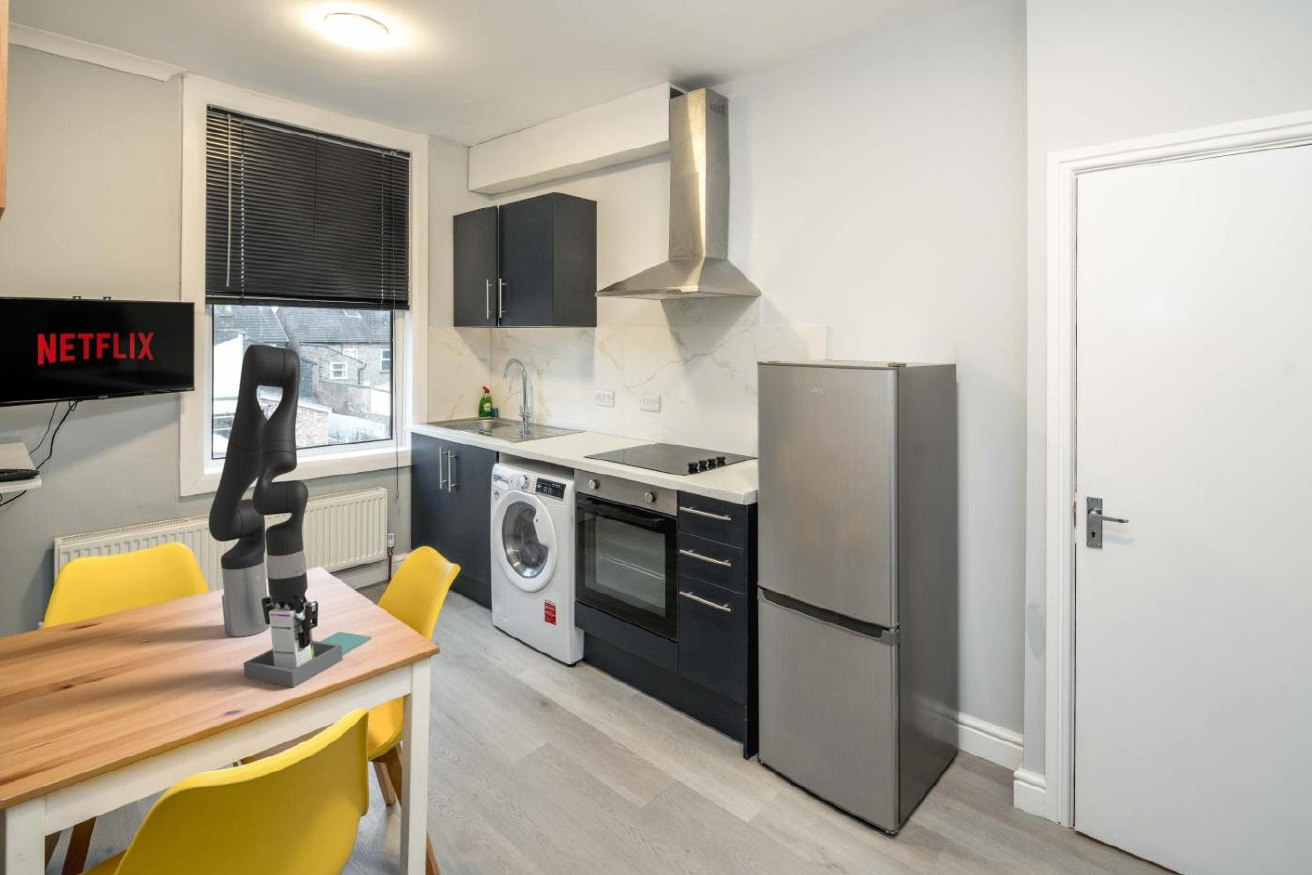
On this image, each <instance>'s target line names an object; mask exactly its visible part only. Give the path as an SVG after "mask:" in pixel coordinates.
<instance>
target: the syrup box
mask: <svg viewBox="0 0 1312 875" xmlns="http://www.w3.org/2000/svg"><path fill="white" fill-rule="evenodd" d="M295 614H296V616H297V618H300V617H302V616H303V615H304V611H303V612H302V613H299V614H297V613H296V611H295V610H292V611H289V610H285V608H280V609H274V610H271V611H269V617H270V626H269V628H270V634H271V645H272V649H273V655H274V664H275V665H274V666H275V667H280V668H286V669H291V670H293V669H295V668H296V667H298V666H300V665H302V664H304V663H306V662H308V661H310V660H311V659H313V658H315V657H314V648H313V641H314V639H313V631H312V630H313V628H312V629H310V640H311V642H310V644H309V646H307V647H305V648H300V647H299V637H298V632H299V631H298V628H297V624H296V623H295V621H294V615H295ZM301 623H302V625H303V626H304V625H305V624H304V622H303V620H301Z"/></svg>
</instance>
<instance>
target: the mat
mask: <svg viewBox="0 0 1312 875" xmlns="http://www.w3.org/2000/svg"><path fill="white" fill-rule="evenodd" d="M371 640H372V636H368V635H363V634H362V635H361V634H355V633H350V632H345V631H344V632H343V631H338V632H335V633H333V634H332V635H330V636H328V637H326V638H323V639H322V640H320V641H319V642H325V643H331V644H337V645H342V656H344V655H346V654H347V653H350V652H351V651H353V650H354V649H356V648H358V647H360V646H362V645H363V644H366V643H367V642H369V641H371Z"/></svg>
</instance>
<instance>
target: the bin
mask: <svg viewBox="0 0 1312 875" xmlns="http://www.w3.org/2000/svg"><path fill="white" fill-rule="evenodd" d="M313 648H314V658H313V659H311V660H310V661H308V662H306V663H304V664H302V665H300V666H298V667H296V668H295V669H293V670H291V669H286V668H280V667H275V664H274V655H273V648H271V649H269V650H267V651H265V652H263V653H261V654H259V655H257V656H254V657H253V658H251V659H249V660H247V661H245V662H243V674H244V679H246V680H251V681H257V682H263V683H267V684H273V685H277V686H283V687H287V688H288V687H289V688H295V687H297V686H299V685H300V684H303V683H304V682H306V681H309V679H311V678H314V677H315V676H317V675H318V674H320V673H322V672H324V671H326V670H328V669H329V668H331V667H333V666H335V665H336V664H338V663H339V662H341V661H343V655H342V645H337V644H331V643H325V642H320V641H318V640H313Z"/></svg>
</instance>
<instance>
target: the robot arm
mask: <svg viewBox="0 0 1312 875" xmlns="http://www.w3.org/2000/svg"><path fill="white" fill-rule="evenodd" d="M241 364H242V365H241V370H240V378H239V380H240V381H239V385H238V386H239V387H238V394H237V401H236V402H237V403H236V406H235V407H236V408H235V412H234V416H233V421H232V423H231V424H232V425H231V428H230V432H229V435H228V436H229V438H228V442H227V446H226V447H227V448H226V450H225V457H224V458H225V459H224V464H223V468H222V472H221V476H220V480H219V484H218V487H217V490H216V492H215V496H214V499H213V502H212V503H211V504H212V505H211V508H210V510H209V514H208V528H209V533H210V535H211V537H212V538H213V539H214V540H216V541H218V542H223V543H224V542H230V541H235V540H238V541H237V542H236V544H235V545H233V547H232V548H230V549H229V550H227V551H226V552H224V553H223V554H222V555H221V557H220V566H221V574H222V576H221V577H222V585H223V594H222V596H221V603H222V614H223V623H224V624H223V625H224V632H226V633H227V634H228V636H230V637H247V636H252V635H253V636H254V635H256V634H259V633H262V632H264V631H266V630H267V629H269V628H270V617H269V611H271V610H274V609H280V608H285V610H289V611H292V610H295V611H296V613H297V614H299V613H302V612H303V611H304V615H303V616H302V617H300V618H297V616H296V614H295V615H294V621H295V623H296V624H297V628H298V631H299V632H298V637H299V647H300V648H305V647H307V646H309V644H310V642H311V640H310V629H312V630H313V629H314V628H317V627H318V624H319V623H318V621H319V617H318V616H319V602H318V601H317V600H315V601H313V602H311V601H309V600H308V599H307V597H306V592H307V591H308V587H309V586H308V575H307V574H308V573H307V563H306V562H307V561H306V555H305V550H304V542H303V540H304V539H303V523H304V517H305V514H306V513H305V512H306V509H307V504H308V501H309V500H308V499H309V489H308V487H307V484H305V482H303V481H302V480H298V479H294V480H293V479H292V480H291V479H290V480H282V481H274V479H275V478H277V477H279V476H283V475H285V474H289V473H291V472H293V471H294V470H296V468H297V466H298V456H297V440H296V425H297V423H296V422H297V415H298V414H297V413H298V407H299V406H298V404H299V393H300V382H301V381H300V380H301V379H300V378H301V360H300V356H299V354H298V353H297V351H296V350H295V349H291V348H287V347H286V348H285V347H278V346H273V345H271V346H270V345H264V344H257V343H255V344H250V345H249V346H248V347H247V348H246V349H245V351H244V354H243V359H242V363H241ZM259 386H261V387H271V388H278V389H279V388H280V389H282V392H281V399H280V400H279V403H278V405H277V407H275V410H274V411H273V412H272V414H271V415H270V416H269V418H267V417H266V415H265V414H264V413H265V412H264V411H263V409H262V406H261V405H260V402H259V400H258V394H257V392H258V388H259ZM255 481H256V484H255V485H254V486H255V487H254V489H253V494H252V497H251V498H248V499H247V498H246V499H245V498H244V499H243V497H244V495H245V493H246V492H247V490H248V489H249V487H251V486H252V484H254V482H255ZM286 514H290V517H289V518H288V519H287V520H285V521H283V522H280V523H279V522H278V523H276V524H273V525H271V526H269V527H267V528H266V524H265V523H266V521H265V520H266V519H265V516H273V515H274V516H275V515H286ZM265 552H266V562H265ZM265 563H266V566H265ZM266 572H267V573H266ZM266 575H267V576H266ZM267 587H268V589H267ZM301 620H303V622H304V624H305V625H304V626H303V625H302V623H301Z"/></svg>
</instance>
